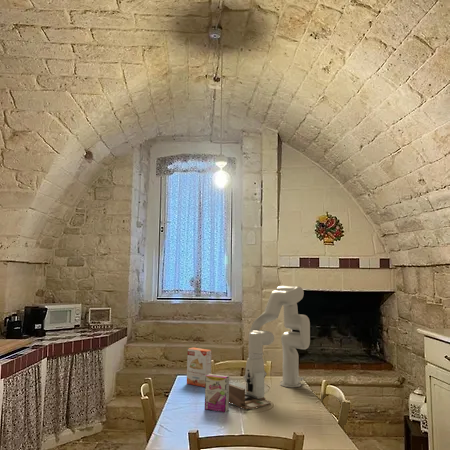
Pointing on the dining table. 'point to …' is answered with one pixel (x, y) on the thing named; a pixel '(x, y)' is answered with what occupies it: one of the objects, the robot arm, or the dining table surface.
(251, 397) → the gauge carriage
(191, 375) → the cracker box
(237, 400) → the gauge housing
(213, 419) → the dining table surface
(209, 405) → the candy bar box
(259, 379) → the small box
